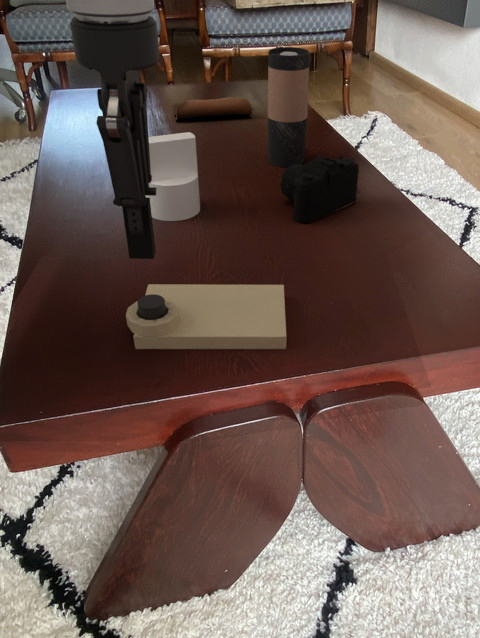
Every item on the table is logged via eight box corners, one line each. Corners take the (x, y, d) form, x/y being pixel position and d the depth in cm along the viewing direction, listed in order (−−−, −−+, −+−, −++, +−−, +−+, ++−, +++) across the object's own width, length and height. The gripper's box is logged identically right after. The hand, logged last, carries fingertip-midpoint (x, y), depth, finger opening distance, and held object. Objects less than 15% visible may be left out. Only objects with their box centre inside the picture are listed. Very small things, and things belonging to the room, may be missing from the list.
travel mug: (312, 159, 124) (317, 50, 111) (292, 170, 119) (296, 57, 106) (280, 152, 127) (282, 45, 115) (260, 162, 122) (259, 52, 109)
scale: (126, 349, 72) (122, 325, 70) (142, 296, 82) (138, 273, 80) (286, 349, 73) (286, 325, 71) (283, 296, 82) (284, 274, 80)
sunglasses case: (244, 106, 151) (247, 85, 144) (250, 128, 148) (253, 108, 142) (172, 110, 147) (171, 89, 141) (176, 133, 145) (176, 112, 138)
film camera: (322, 186, 113) (325, 137, 107) (362, 202, 107) (368, 151, 102) (262, 209, 104) (262, 157, 99) (303, 227, 99) (305, 173, 93)
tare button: (137, 321, 72) (135, 308, 71) (141, 306, 74) (139, 294, 73) (164, 321, 72) (162, 308, 71) (167, 306, 74) (166, 294, 73)
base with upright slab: (154, 224, 99) (146, 150, 91) (141, 203, 105) (131, 132, 98) (207, 215, 102) (202, 143, 94) (191, 196, 108) (185, 126, 101)
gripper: (144, 30, 49) (169, 286, 63) (165, 4, 59) (182, 230, 74) (49, 27, 48) (96, 284, 63) (86, 2, 59) (119, 229, 73)
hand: (142, 255), depth 68 cm, fingers closed
